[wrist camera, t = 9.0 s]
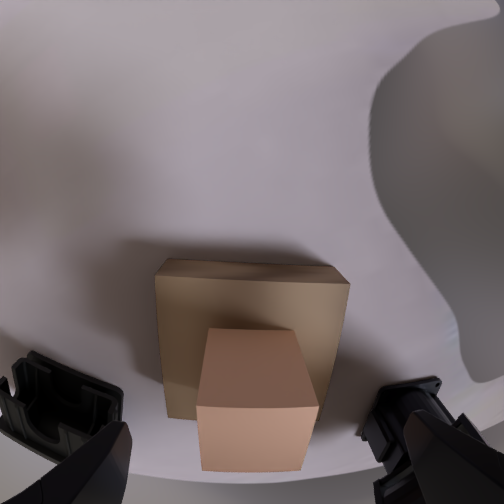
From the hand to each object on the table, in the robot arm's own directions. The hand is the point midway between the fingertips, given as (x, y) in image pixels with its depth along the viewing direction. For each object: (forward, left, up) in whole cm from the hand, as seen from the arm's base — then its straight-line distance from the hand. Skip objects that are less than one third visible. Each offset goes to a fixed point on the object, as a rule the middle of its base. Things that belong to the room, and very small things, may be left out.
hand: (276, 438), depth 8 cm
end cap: (+15, +11, -12) cm, 22 cm away
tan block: (0, +3, -11) cm, 12 cm away
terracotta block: (0, +3, -8) cm, 9 cm away
